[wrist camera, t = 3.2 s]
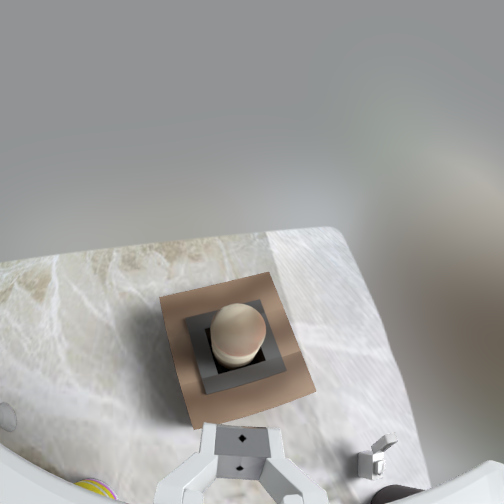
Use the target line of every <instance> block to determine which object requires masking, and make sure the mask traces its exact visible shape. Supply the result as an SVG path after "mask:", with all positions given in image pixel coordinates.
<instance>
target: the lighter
mask: <svg viewBox="0 0 504 504" xmlns="http://www.w3.org/2000/svg"><path fill="white" fill-rule="evenodd" d="M397 441H398V440H397V437H396V434H395V432H394V433H390V434H386V435H384V436H383V437H382V438H380V439H379V440H378V441H377V442H376V443H374V444H373V445H372V446H371V448H372V451H363V452H359V453H358V476H359V477H363V478H366V479H369V480H377V479H381V478H382V477H383V472H384V471H385V460H383V452H384V451H385V450H387V449H388V448H389V447H391V446H392V445H393V444H395V443H396V442H397Z"/></svg>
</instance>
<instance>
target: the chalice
mask: <svg viewBox="0 0 504 504" xmlns="http://www.w3.org/2000/svg"><path fill="white" fill-rule="evenodd" d="M0 426H1V427H2V428H3V429H4V430H6V431H9V432H11V431H13V430H14V429H15V427H16V415H15V412H14V410H13V409H12V407H11V406H10V405H9V404H7V403H1V404H0Z"/></svg>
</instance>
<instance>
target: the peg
mask: <svg viewBox="0 0 504 504" xmlns="http://www.w3.org/2000/svg"><path fill="white" fill-rule="evenodd" d="M210 330H211V341H212V352H213V356H214V358H215V360H216V361H217V362H218V363H219V364H220V365H221V366H223V367H224V368H227V369H231V370H236V369H240V368H243V367H246V366H247V365H249V364H250V363H251V361H252V360H253V358H254V357H255V355H256V353H257V352H258V350H259V348H260V346H261V345H262V343H263V341H264V339H265V335H266V325H265V322H264V319H263V317H262V316H261V315H260V313H259V312H258V311H257V310H255V309H254V308H252V307H251V306H248V305H245V304H239V303H236V304H230V305H227V306H225V307H223V308H221V309H220V310H219V311H218V312H217V313H216V314H215V315H214V317H213V319H212V322H211V328H210Z"/></svg>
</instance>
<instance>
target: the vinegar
mask: <svg viewBox="0 0 504 504" xmlns="http://www.w3.org/2000/svg"><path fill="white" fill-rule="evenodd" d="M422 491H425V490H421V489H416V488H410V487H405V486H401V485H390V486H388V487H385V488H384V489H382V490H381V491H379V492H378V493H377V494H376V495H375V497H374V498H373V500H372V501H371V504H386V503H390V502H393V501H396V500H399V499H403V498H406V497H408V496H411V495H414V494H417V493H420V492H422Z"/></svg>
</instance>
